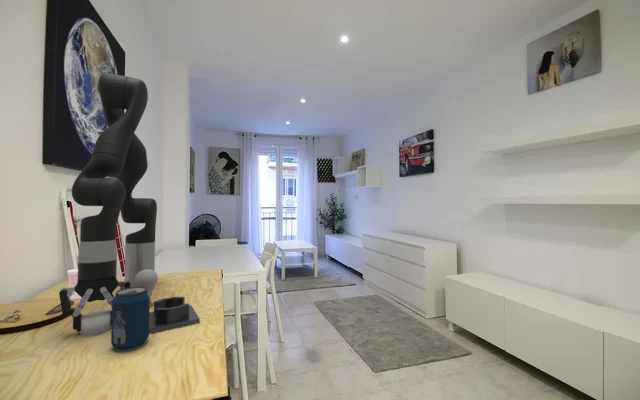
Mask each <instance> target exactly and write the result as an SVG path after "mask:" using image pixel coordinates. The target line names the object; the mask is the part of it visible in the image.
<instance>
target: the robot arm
mask: <svg viewBox="0 0 640 400" xmlns="http://www.w3.org/2000/svg"><path fill="white" fill-rule="evenodd" d="M98 93H99V97H100V100H101V106H102V108H103V112H104V116H105V120H106V123H107V127H106V128H105V130H103V131H102V132H101V133H100V134H99V135H98V137H97V139H96V141H95V144H94V146H93V150H92V154H91V157H90V160H89V161H88V162H87V163H86V165H85V166H84V168H83V169H82V170H81V172H80V173H79V174H78V175H77V177H76V178H75V180H74V182H73V184H72V187H71V197H72V199H73V200H74V202H75V203H76V204H77V205H79V206H83V207H102V209H101V210H100V212H99V213H98V214H96V215H90V216H86V217H84V218H82V219H81V221H80V232H79V233H80V234H79V235H80V238H79V247H78V253H77V254H78V255H77V269H78V281H77V284H76V286H75V287H71V288H69V287H63V288H62V289H61V290H60V291H59V294H58V295H59V301H60V306H61V313H62V315H63V316H65V317H66V316H71V317H72V329H73V331H75V332H76V333H80V327H81V316H82V315H83V314H82V311H83V309H84V307H85V306H86V304H87V303H93V302H95V301H105V300H106V302H107V303H108V305H109V306H110V308H111V327H112V301H113V299H114V297H115V295H114V294H113V292H115V290H116V289H117V288H118V287H119V290H121V289H124V288H129V287H136V285H135V282H134V280H135V277H136V275H137V274H138V273H139V272H140V271H142V270H145V269H151V270H153V271H155V270H156V265H155V263H156V262H155V261H156V257H155V256H156V228H157V227H156V226H157V224H156V223H157V214H158V212H157V211H158V204H157V201H156V199H154V198H150V197H149V198H148V197H147V198H146V197H143V198H140V197H133V196H132V195H133V191H134V189H135V188H136V186H137V184H139V182H140V181H141V180H142V178H143V177H144V175H145V174H146V172H147V170H148V156H147V150H146V147H145V144H143V142H142V141H141V139H140V138H139V137H138V135H136V133H135V132H136V130H137V128H138V125H140V122H141V119H142V117H143V115H144V113H145V110H146V108H147V105H148V100H149V93H148V87H147V84H146V83H145V81H144V80H142V79H140V78H136V77H131V76H126V75H121V74H114V73H107V72H106V73H102V74H101V75H100V76H99V80H98ZM122 110H125V112H124V113H123V112H122ZM114 175H116V178H115V177H113V178H112V177H109V176H114ZM120 215H121V219H122V221H123V222H124V223H126V224H144V227H143V228H140V230H137V231H134V232H131V233H128V234H126V235H125V238H124V239H125V244H124V245H125V249H124V250H125V251H124V280H123V281H119V280H118V278H117V269H118V268H117V267H118V266H117V264H118V262H117V260H118V246H117V225H118V220H119V216H120ZM155 272H156V271H155ZM74 291H75V292H76V293H77V294H78V295H79V296H80V297H81V298H80V301H79V302H78V304H77V306H76V307H75V308H73V307H71V301H70V300H71V299H70V297H71V296H72V293H73V292H74Z"/></svg>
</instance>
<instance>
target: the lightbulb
mask: <svg viewBox="0 0 640 400" xmlns="http://www.w3.org/2000/svg"><path fill="white" fill-rule="evenodd" d="M134 282H135V285H136V287H146V288H147V292H148V293H149V295H150V303H151V301H152V295H153V290H154V288H155V286H156V284H157V282H158V274H157V273H156V271H153V270H151V269H145V270H142V271H140V272H139V273H138V274H137V275H136V277H135V280H134Z"/></svg>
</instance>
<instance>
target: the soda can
mask: <svg viewBox="0 0 640 400" xmlns="http://www.w3.org/2000/svg"><path fill="white" fill-rule="evenodd" d="M150 303H151V302H150V295H149V293H148V292H147V288H146V287H129V288H124V289H118V290H117V291H116V292H115V295H114V299H113V301H112V308H111V310H112V326H111V330H110V331H111V338H110V341H111V343H110V344H111V346H112V347H113V348H114V350H115V351H117V352H128V351H133V350H136V349H138V348H140V347H142V346H143V345H145V344H146V342H147V340H148V338H149V336H150V334H149V312H150V308H151V307H150V305H151V304H150Z"/></svg>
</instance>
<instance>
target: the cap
mask: <svg viewBox="0 0 640 400" xmlns="http://www.w3.org/2000/svg"><path fill="white" fill-rule="evenodd" d="M111 310H112V309H111ZM111 310H109V309H100V310H93V311H90V312H86V313H85V314H82V316H81V327H80V332H79V335H80V336H82V337H93V336H98V335H102V334H105V333H107V332H109V331H111V330H112V326H111Z"/></svg>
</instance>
